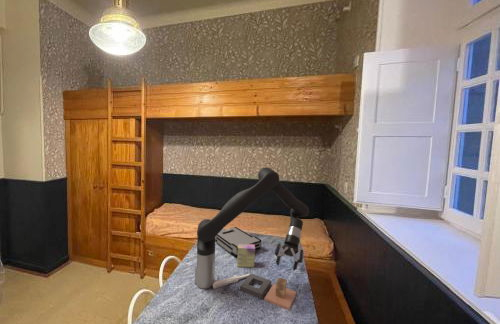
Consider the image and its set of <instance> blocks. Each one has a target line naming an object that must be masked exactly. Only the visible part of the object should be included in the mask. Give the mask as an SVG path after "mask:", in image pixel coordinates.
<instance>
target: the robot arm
mask: <svg viewBox="0 0 500 324" xmlns="http://www.w3.org/2000/svg"><path fill="white" fill-rule="evenodd" d="M257 178H258V182H256V183H255V184H254V185H253V186H251V187H248V188H246V189H243V190H241V191H239V192H237V193H235V195H234V196H232V197H230V199H229V200H228V201H227V202H226V203H225V204H224V205H223V206H222V208H221V209H220V210H219V212H218V213H217V214H216V215H215V216H214V217H212V218H211V219H209V218H205V219H203V220H201V221H200V222H199V223H198V226H197V231H196V236H197V240H196V241H197V245H196V264H195V265H194V266H195V267H194V284H196V286H197V287H198V289H199V288H200V289H204V290H206V289H209V288H211V287H213V283H214V282H215V273H216V270H215V267H216V265H215V264H216V240H215V236H216V235H217V234H218V233H219V232H221V231H222V230H223V229H224V228H225V227H226V226H228V224H230V223H231V222H233V220H235V219H236V218H237V217H238V216H240V215H241V214H242V213H243V212H244V211H246V210H247V209H248V208H249V207H250V206H251V205H252V204H253V203H255V202H257V201H258V199H260V198H261V197H263V196H264V195H265V194H267V193H268V192H269V191H270V190H272V191H273V192H274V194H276V196H277V197H278V198H279V199H280V201H281V202H282V203H283V204H284V205H285V206H286V207H287V208H289V209H290V211H289V212H290V222H289V225H288V229H287V232H286V235H285V240H284V243H283V245H282V244H280V243H277V246H276V248H275V251H274V255H275V256H276V259H275V260H276V261H275V263H276V265H277V266H279V265H280V264H281V263H280V262H281V258H282V257H284V256H285V255H286V256H289V257H291V258H292V257H293V258H294V262H293V267H292V271H296V270H297V269H298V265H299V264H302V263H303V258H304V250H303V249H299V245H300V240H301V237H302V231H303V225H304V222H303V220H302V219H300V218H304V217H307V216H309V214H310V209H309V207H308V206H307V204H305V203H304V202H303V201H301V200H299V199H297V197H295V195H294V194H293V193H292V192H291V191H290V190H289V189H288V188H287V187H285V186H284V185H283V184H282V183H281V182H280V175H279V174H278V172H276V171H275V170H273V169H272V168H270V167H262V168H261V169H260V170H259V171H258V174H257ZM280 250H281V251H280ZM297 253H298V254H299V257H298V256H296V255H297ZM297 257H298V258H299V259H298V258H297Z"/></svg>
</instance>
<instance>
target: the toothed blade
mask: <svg viewBox="0 0 500 324" xmlns="http://www.w3.org/2000/svg"><path fill="white" fill-rule="evenodd" d="M250 274H252V273H247V274H244V275H237V274H235V275H234V276H232V277H227V278H224V279H218V280H214V283H213V286H212V288H213V289H218V288H221V287H226V285H231V283H232V284H236V283H238V282H239V280H242V279H246V278H247V277H248V276H249V275H250Z"/></svg>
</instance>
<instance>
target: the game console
mask: <svg viewBox="0 0 500 324" xmlns="http://www.w3.org/2000/svg"><path fill="white" fill-rule="evenodd" d="M215 242H216V244H217V245H218V246H220V247H221V248H222V249H223V250H224V251H225V252H227V253H229V254H230V255H231V256H232V257H233V258H235V259H237V257H238V244H254V245H255V252H257V251H259V250H260V249H261V247H262V239H260V238H259V237H257V236H252V235H251V234H249V233H247V232H245V231H244V230H242V229H240V228H239V227H237V226H233V227H230V229H229V230H227V231H224V232H221V231H220V232H219V233H218V234H217V235H216V236H215Z"/></svg>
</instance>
